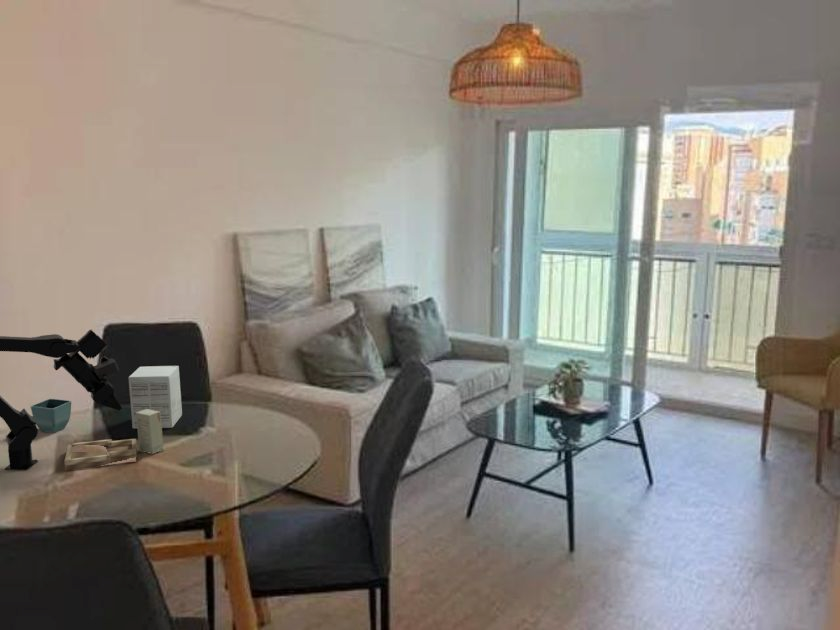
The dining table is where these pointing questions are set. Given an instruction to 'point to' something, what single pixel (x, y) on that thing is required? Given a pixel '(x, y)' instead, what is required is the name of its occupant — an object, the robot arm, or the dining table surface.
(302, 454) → the dining table surface
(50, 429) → the flower pot
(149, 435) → the skincare box
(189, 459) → the dining table surface
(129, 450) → the keyhole guide
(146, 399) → the supplement box
